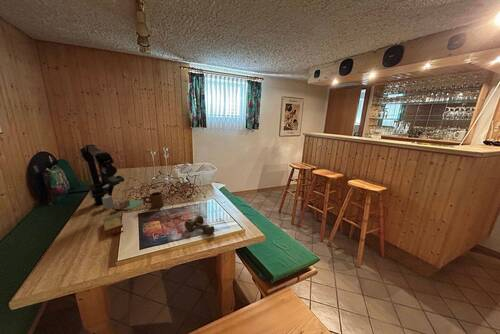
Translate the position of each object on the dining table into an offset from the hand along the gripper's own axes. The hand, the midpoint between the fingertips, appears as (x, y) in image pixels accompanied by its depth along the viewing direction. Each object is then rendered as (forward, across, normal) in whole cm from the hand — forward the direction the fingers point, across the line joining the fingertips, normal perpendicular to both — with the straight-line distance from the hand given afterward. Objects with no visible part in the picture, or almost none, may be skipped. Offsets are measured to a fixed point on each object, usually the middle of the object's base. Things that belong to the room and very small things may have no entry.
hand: (110, 195), depth 123 cm
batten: (+12, +5, 0) cm, 13 cm away
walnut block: (+8, +3, 0) cm, 9 cm away
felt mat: (+12, +12, 0) cm, 17 cm away
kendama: (+12, 0, -64) cm, 65 cm away
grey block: (+12, +4, +10) cm, 16 cm away
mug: (+12, +14, -20) cm, 27 cm away
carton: (+12, -13, -16) cm, 24 cm away
